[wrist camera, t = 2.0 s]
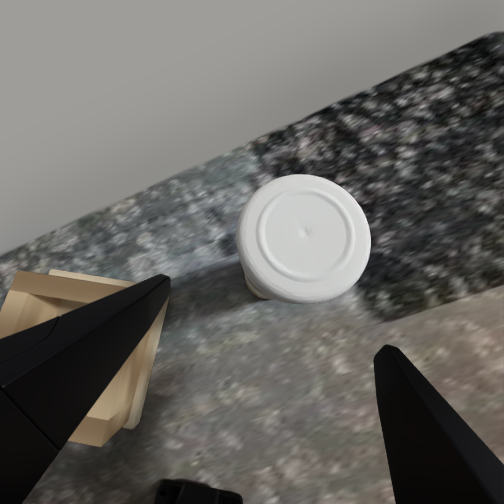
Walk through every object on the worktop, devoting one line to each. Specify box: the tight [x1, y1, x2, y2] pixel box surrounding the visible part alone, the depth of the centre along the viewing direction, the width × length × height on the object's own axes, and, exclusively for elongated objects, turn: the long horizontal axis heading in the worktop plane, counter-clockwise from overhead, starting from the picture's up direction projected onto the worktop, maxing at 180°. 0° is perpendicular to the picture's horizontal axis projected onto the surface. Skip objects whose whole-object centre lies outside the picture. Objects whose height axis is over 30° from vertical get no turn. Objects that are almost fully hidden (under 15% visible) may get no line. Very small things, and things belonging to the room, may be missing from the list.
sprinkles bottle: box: [236, 174, 371, 304], centre depth 13 cm, size 5×5×13 cm
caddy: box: [0, 269, 172, 447], centre depth 17 cm, size 11×11×4 cm
